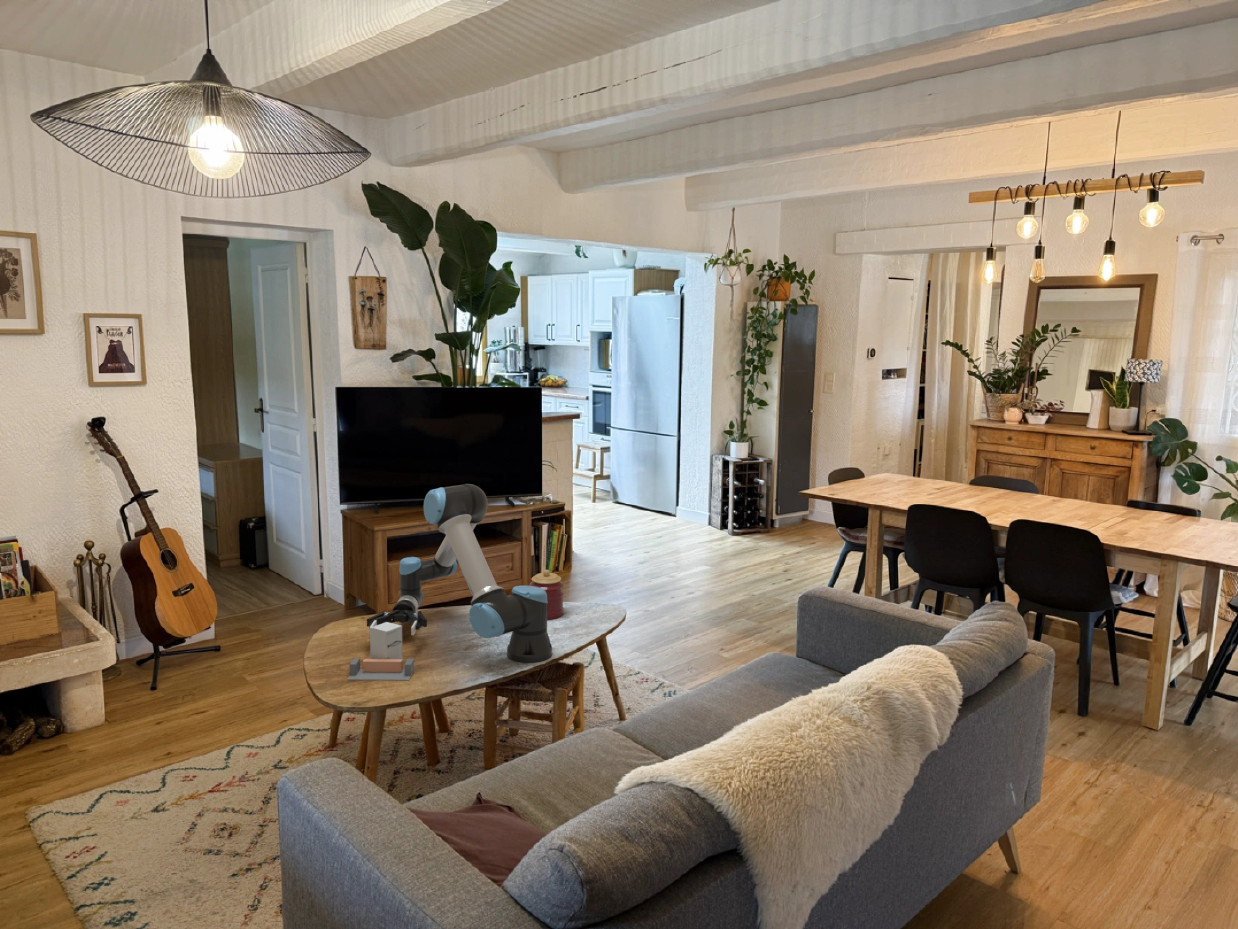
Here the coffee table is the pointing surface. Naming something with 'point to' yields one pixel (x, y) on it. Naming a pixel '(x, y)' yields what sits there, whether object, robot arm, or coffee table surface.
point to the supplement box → (386, 641)
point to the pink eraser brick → (382, 665)
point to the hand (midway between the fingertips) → (391, 631)
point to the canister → (550, 592)
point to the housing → (399, 676)
